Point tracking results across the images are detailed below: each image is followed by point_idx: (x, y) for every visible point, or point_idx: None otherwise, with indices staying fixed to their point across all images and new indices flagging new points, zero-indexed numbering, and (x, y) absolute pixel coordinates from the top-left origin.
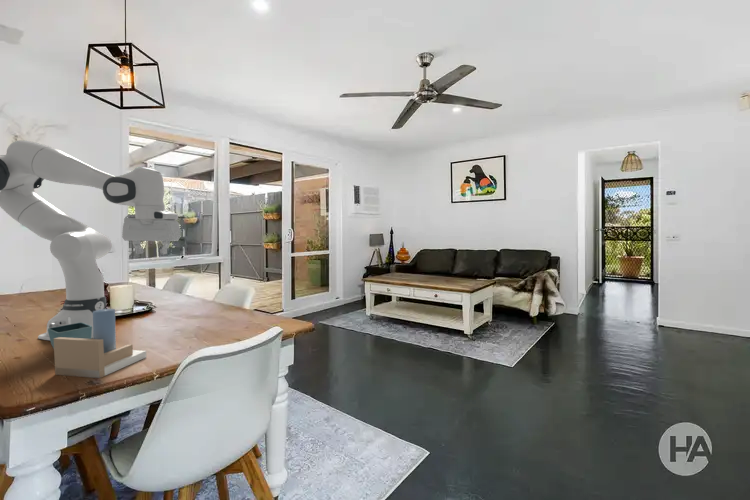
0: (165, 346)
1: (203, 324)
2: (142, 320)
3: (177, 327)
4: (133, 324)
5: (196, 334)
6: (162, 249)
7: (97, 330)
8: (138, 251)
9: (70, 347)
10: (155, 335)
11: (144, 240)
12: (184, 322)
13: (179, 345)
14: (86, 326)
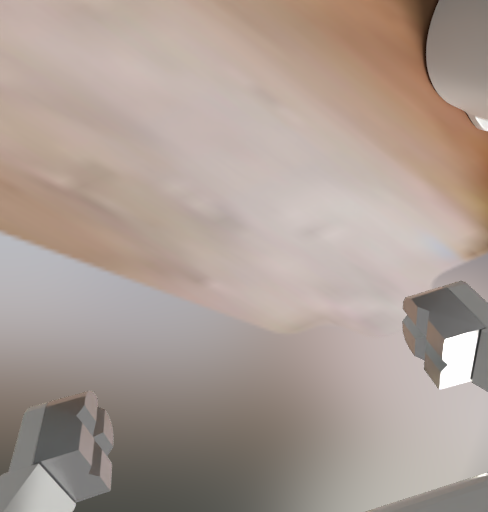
0: (53, 52)
1: (205, 299)
2: (448, 240)
3: (258, 240)
4: (440, 198)
5: (107, 215)
6: (24, 461)
7: None
8: (438, 308)
9: None
10: (241, 141)
11: (387, 508)
12: (289, 286)
13: (14, 87)
14: None
